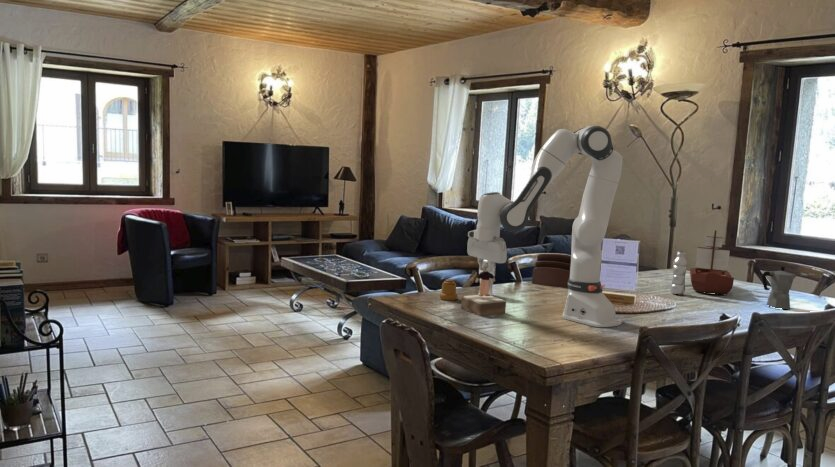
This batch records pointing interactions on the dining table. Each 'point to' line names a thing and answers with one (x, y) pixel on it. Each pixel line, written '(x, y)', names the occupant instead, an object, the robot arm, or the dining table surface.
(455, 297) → the ornamental finial
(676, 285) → the plastic bottle
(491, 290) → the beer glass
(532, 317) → the dining table surface
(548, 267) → the letter holder
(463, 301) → the plinth
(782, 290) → the coffeepot
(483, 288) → the grandmother figurine
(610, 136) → the robot arm
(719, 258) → the sailing ship
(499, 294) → the dining table surface
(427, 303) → the dining table surface
